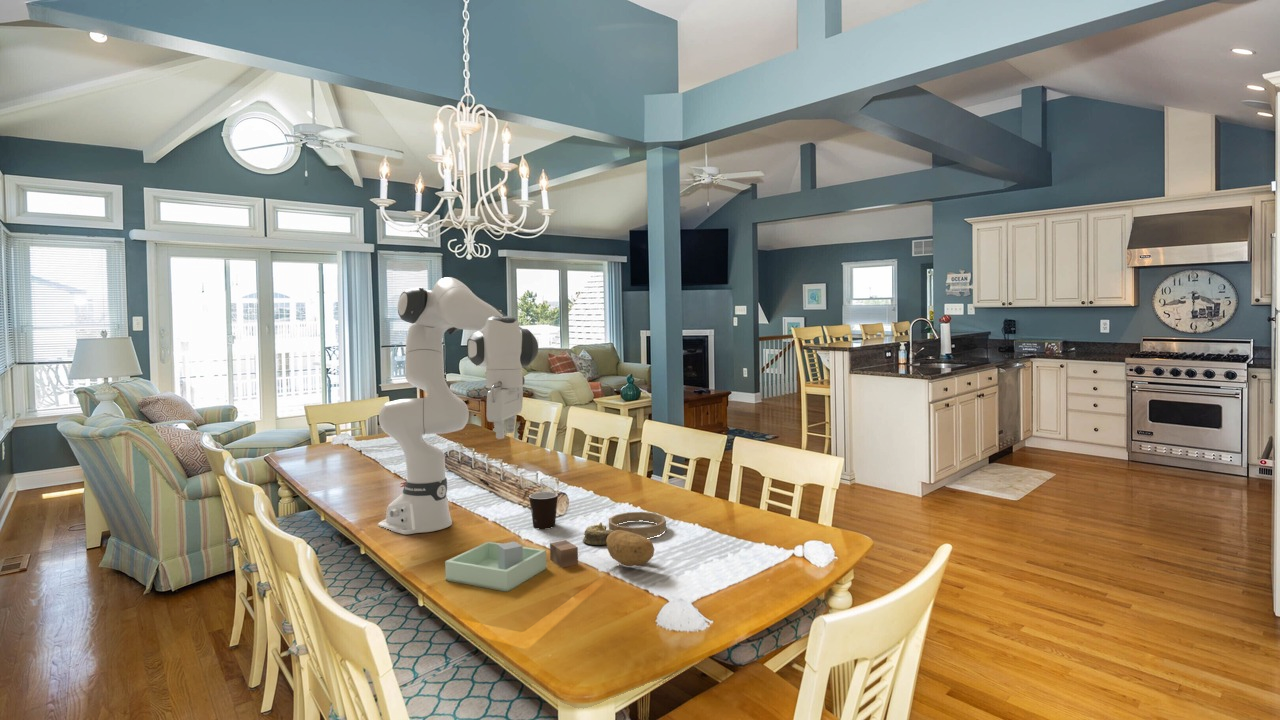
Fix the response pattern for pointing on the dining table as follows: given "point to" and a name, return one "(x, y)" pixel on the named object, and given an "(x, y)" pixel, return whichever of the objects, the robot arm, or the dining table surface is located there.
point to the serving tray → (493, 567)
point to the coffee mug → (543, 509)
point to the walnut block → (564, 553)
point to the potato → (629, 548)
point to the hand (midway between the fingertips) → (505, 435)
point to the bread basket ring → (637, 516)
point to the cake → (596, 535)
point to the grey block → (509, 554)
